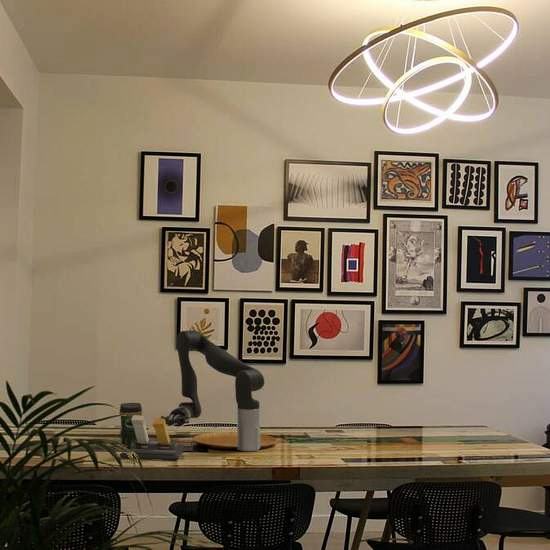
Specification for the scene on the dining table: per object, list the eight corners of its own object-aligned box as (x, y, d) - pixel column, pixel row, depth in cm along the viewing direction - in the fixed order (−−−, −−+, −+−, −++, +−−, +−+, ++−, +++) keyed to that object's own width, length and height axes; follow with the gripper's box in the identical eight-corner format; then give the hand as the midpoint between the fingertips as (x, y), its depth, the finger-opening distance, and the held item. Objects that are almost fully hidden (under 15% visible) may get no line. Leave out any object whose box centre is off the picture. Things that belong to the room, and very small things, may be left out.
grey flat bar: (179, 459, 305) (179, 450, 305) (178, 461, 303) (178, 451, 303) (120, 457, 308) (120, 448, 308) (118, 458, 306) (118, 449, 306)
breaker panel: (183, 452, 318) (183, 440, 318) (175, 458, 307) (175, 446, 307) (136, 450, 321) (136, 438, 321) (126, 456, 310) (127, 444, 310)
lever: (150, 442, 316) (143, 415, 308) (148, 447, 314) (142, 420, 305) (139, 442, 317) (133, 415, 308) (138, 447, 315) (131, 419, 306)
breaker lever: (171, 443, 315) (164, 418, 305) (170, 448, 313) (163, 424, 303) (161, 442, 315) (154, 418, 306) (159, 448, 314) (152, 423, 304)
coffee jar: (141, 444, 334) (141, 401, 334) (142, 448, 326) (143, 403, 327) (118, 445, 332) (119, 401, 332) (119, 449, 324) (119, 404, 324)
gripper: (165, 407, 337) (153, 413, 320) (195, 407, 335) (184, 414, 318) (165, 424, 337) (153, 431, 319) (194, 425, 335) (184, 432, 318)
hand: (169, 423), depth 319 cm, fingers closed
